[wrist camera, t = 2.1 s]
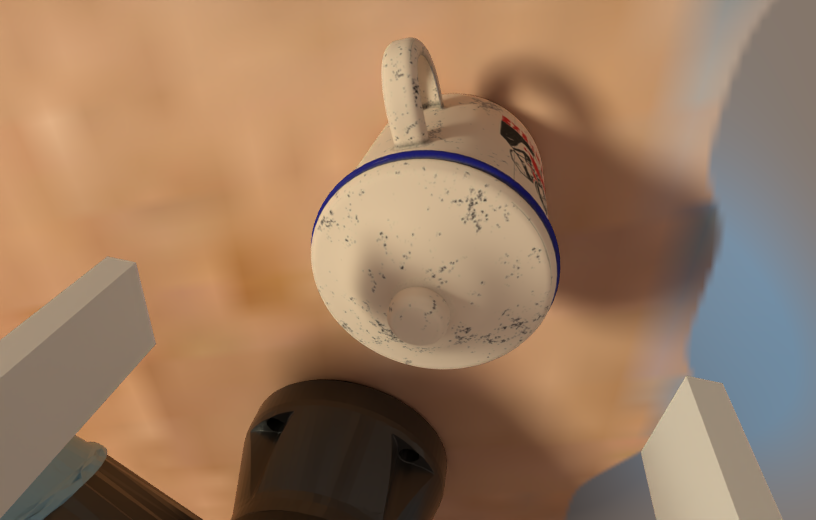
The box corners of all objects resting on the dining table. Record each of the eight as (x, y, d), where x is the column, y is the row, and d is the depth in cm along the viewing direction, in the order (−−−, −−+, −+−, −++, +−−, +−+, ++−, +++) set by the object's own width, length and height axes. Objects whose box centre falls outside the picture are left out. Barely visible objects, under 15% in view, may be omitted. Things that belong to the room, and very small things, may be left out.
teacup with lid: (555, 246, 26) (577, 424, 17) (390, 262, 29) (327, 426, 19) (531, -6, 20) (544, 45, 11) (327, 42, 23) (189, 118, 13)
